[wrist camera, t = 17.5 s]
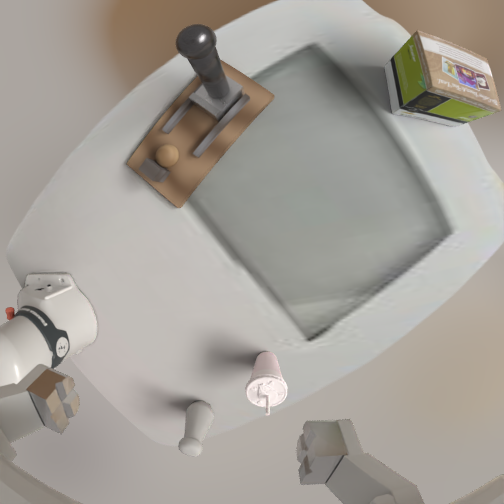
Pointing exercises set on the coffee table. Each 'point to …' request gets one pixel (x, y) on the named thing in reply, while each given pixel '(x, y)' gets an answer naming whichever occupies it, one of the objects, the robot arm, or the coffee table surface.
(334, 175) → the coffee table surface
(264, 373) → the smoothie
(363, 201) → the coffee table surface
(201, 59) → the handle slide
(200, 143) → the base
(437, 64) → the tea box
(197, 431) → the salt shaker
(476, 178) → the coffee table surface
